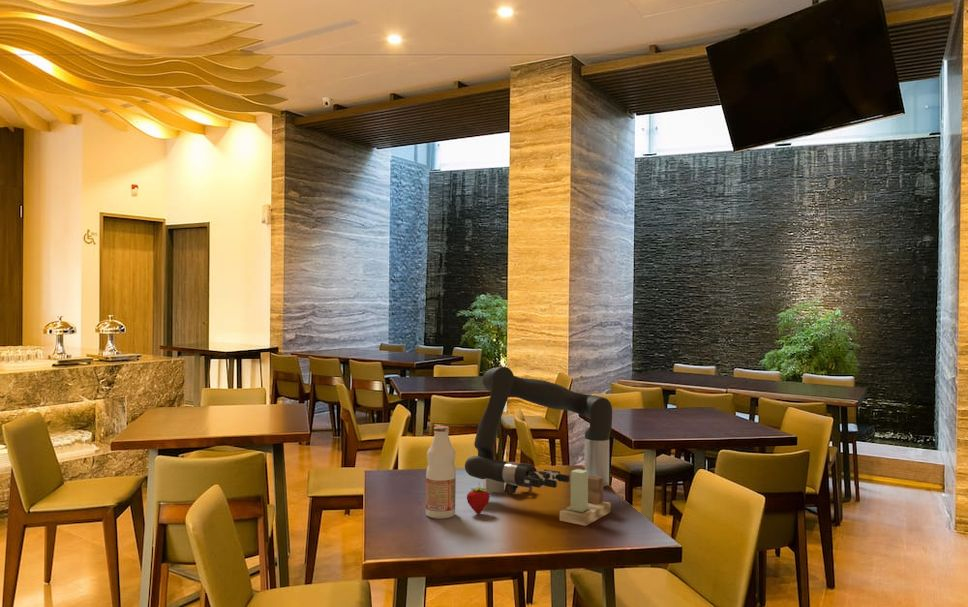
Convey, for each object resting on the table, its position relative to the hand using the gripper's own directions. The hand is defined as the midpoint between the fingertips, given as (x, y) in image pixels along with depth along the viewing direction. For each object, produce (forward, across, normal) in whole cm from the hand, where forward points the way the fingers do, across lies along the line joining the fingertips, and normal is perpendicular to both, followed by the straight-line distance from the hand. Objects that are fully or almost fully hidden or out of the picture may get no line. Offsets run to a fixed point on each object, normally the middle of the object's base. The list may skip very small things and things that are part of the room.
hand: (562, 481), depth 219 cm
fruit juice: (-32, -22, +11) cm, 40 cm away
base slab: (+6, +4, +11) cm, 13 cm away
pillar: (+6, 0, +8) cm, 10 cm away
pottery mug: (-26, +15, +11) cm, 32 cm away
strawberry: (-23, -14, +11) cm, 29 cm away
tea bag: (-34, +12, +11) cm, 38 cm away
